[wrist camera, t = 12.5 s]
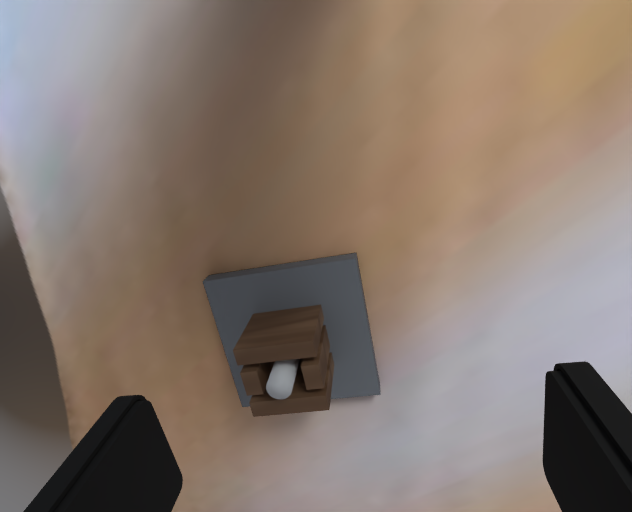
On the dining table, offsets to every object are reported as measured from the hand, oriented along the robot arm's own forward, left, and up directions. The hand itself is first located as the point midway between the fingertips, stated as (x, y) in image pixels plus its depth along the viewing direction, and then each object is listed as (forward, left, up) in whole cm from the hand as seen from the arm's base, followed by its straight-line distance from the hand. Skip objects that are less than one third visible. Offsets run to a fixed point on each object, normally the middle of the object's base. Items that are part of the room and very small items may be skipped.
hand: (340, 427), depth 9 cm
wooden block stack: (+11, -8, -24) cm, 28 cm away
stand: (+11, -8, -25) cm, 29 cm away
